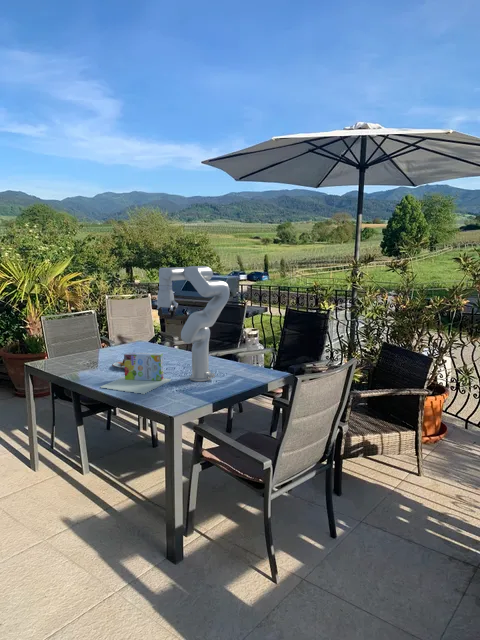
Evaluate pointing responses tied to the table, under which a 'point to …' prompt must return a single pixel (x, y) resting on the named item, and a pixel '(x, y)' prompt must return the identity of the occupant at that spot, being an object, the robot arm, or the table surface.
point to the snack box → (143, 366)
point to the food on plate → (119, 364)
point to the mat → (134, 385)
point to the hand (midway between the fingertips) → (166, 316)
